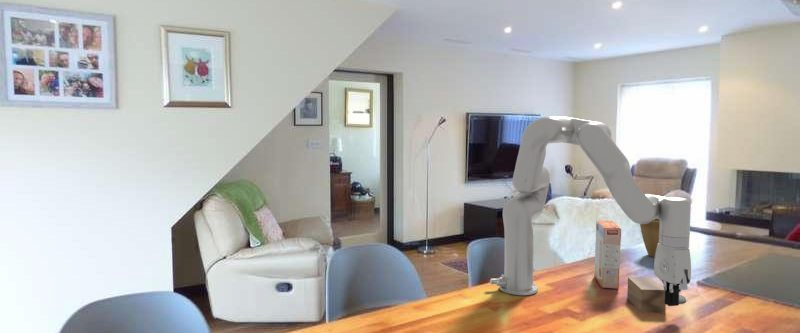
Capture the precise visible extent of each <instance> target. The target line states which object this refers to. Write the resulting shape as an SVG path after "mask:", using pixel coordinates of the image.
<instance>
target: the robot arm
mask: <svg viewBox="0 0 800 333" xmlns="http://www.w3.org/2000/svg"><path fill="white" fill-rule="evenodd" d="M558 143H564V144H569V145H576V146H579V147H580V148H581V150H582V151H583V152H584V153H585V155H586V157H587V158H588V159H589V160H590V161H591V163H592V165H593V166H594V167H595V169H596V170H597V171H598V172H599V174H600V175H601V177H602V178H603V181H604V183H605V185H606V187H607V188H608V189H607V190H609V192H610V194H611V196H612V198H613V199H614V201H615V202H616V203H617V205H618V206H619V208H620V209H621V210H622V212H623V213H624V214H625V216H626V217H627V218H628V219H629V220H630V221H632V222H633V223H635V224H637V225H638V224H639V225H640V224H647V223H649V222H651V221H652V220H654V219H659V220H660V228H659V243H658V245H657V248H656V253H655V257H654V262H653V274H654V275H653V276H655V277H656V278H658V279H659V281H661V282H662V284H663V285H662V286H663V288H664V290H666V291H665V304H666V306H667V307H675V306H676V307H677V306H679V304H680V303H679V295H680V293H681V292H682V291H685V290H686V291H687V290H688V288H689V287H688V284H690V283H691V281H692V279H691V278H692V261H691V260H692V259H691V252H690V238H691V237H690V234H691V211H692V208H691V207H692V206H691V205H692V204H691V203H692V202H691V201H690V200H689V199H688V198H684V197H678V196H668V197H666V196H661V195H656V194H651V193H644V192H643V190H642V189H641V187H640V186H639V184H638V183H637V181H636V180H635V178H634V176H633V174H632V172H631V165H630V162H629V160H628V158H627V157H626V155H625V154H624V153H623V151H621V149H620V148H619V147H618V145H617V144H616V143H615V141H614V140H613V138H612V131H611V129H610V128H609V126H608V125H607V124H606V123H604V122H601V121H595V120H594V121H593V120H587V119H580V118H577V117H576V118H575V117H569V116H561V115H560V116H559V115H558V116H557V115H551V116H549V115H548V116H544V117H540V118H538V119H534V120H533V121H532V122H530V123H529V124H528V125H527V126H526V128H525V129H524V130H523V133H522V136H521V140H520V145H519V149H518V154H517V157H516V162H515V167H514V171H513V176H512V186H513V188H514V189H515V191H517V192H518V193H519V195H517V196H513V197H511V198H509V199H508V200H507V201H506V202H505V203H504V205H503V207H502V220H503V221H502V222H503V228H504V230H503V232H504V265H503V266H504V268H503V270H504V271H503V273H504V274H501V276H500V277H498V278H494V277H493V278H490V279H489V283H490V285H496V286H497V287H499V290H501V291H502V292H503V293H505V294H508V295H514V296H531V295H535V294H537V292H538V291H539V288H538V285H536V284H535V283H534V266H535V265H534V264H535V263H534V254H535V253H534V252H535V251H534V250H535V245H534V244H535V243H534V242H535V235H534V228H533V221H535V220H537V219H538V218H539V217H541V216H542V214H543V211H544V208H545V205H546V201H547V197H548V192H549V188H550V181H551V177H550V172H549V169H548V168H547V167H546V166H545V165H544V163H545V159H546V152H547V146H548V145H549V144H558Z"/></svg>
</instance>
